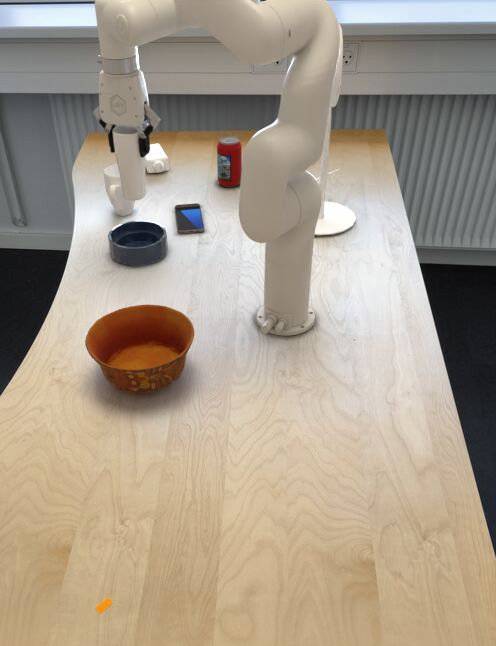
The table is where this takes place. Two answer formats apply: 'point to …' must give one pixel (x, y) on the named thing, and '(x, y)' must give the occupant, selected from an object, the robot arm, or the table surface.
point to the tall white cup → (130, 162)
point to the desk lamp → (333, 214)
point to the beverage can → (229, 161)
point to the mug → (117, 191)
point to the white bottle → (156, 159)
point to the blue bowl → (138, 242)
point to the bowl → (141, 346)
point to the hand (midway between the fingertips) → (130, 152)
